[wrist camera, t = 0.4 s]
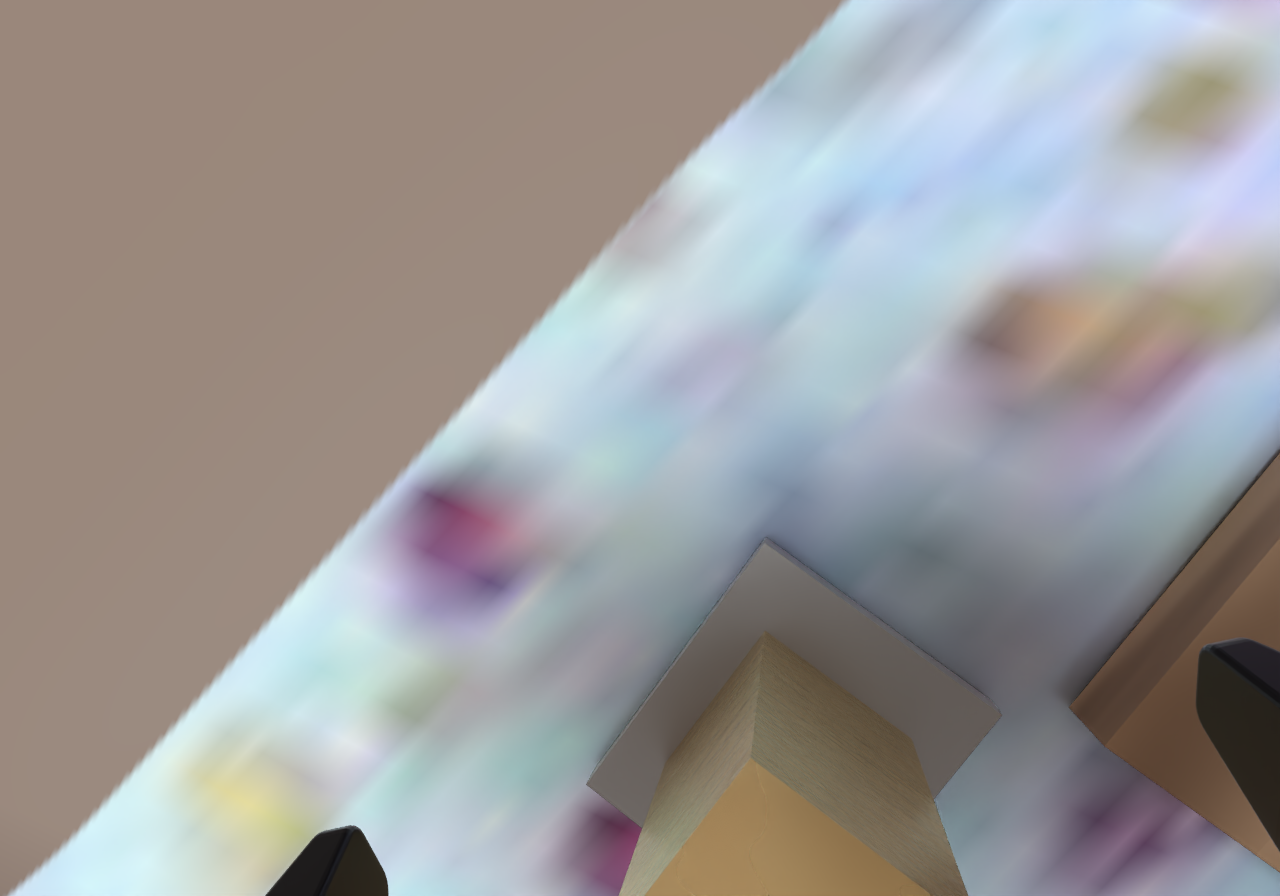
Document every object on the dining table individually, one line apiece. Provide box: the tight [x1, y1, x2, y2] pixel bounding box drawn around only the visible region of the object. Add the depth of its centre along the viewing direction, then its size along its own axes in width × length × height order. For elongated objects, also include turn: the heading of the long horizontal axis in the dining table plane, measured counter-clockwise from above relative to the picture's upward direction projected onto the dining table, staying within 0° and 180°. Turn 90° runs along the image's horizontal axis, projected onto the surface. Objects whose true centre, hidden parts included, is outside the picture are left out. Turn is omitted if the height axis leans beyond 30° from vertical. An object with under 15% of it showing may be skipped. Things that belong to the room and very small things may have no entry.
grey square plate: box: [586, 537, 1002, 828], centre depth 22 cm, size 7×8×1 cm
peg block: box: [619, 631, 968, 896], centre depth 18 cm, size 4×4×8 cm
